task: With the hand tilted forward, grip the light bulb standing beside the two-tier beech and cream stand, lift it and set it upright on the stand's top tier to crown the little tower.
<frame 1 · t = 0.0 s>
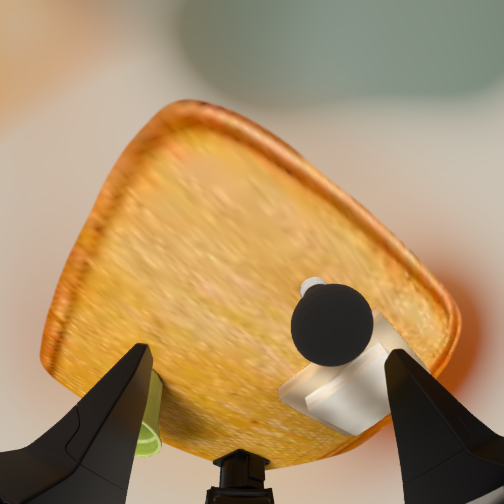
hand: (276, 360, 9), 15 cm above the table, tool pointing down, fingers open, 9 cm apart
light bulb: (311, 284, 25), on the table
plant pot: (139, 378, 29), on the table
stepped stand: (359, 378, 29), on the table
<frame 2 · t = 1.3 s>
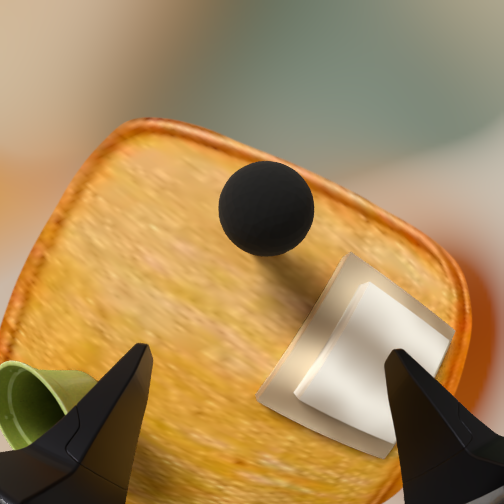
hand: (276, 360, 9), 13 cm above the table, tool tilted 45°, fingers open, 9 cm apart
light bulb: (258, 241, 24), on the table
plant pot: (84, 400, 20), on the table
stepped stand: (364, 364, 22), on the table
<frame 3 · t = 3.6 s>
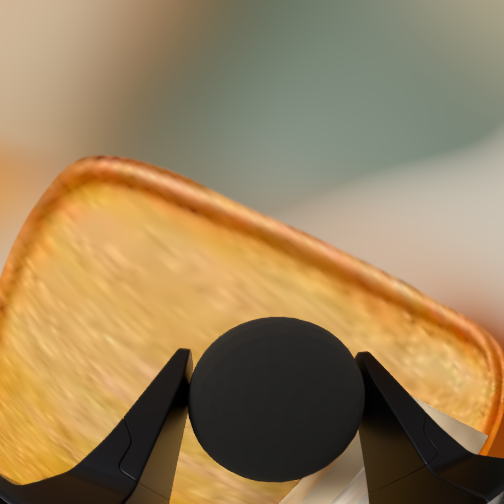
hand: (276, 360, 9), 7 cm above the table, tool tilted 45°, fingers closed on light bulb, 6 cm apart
light bulb: (259, 367, 15), on the table, touching gripper
stepped stand: (383, 486, 13), on the table
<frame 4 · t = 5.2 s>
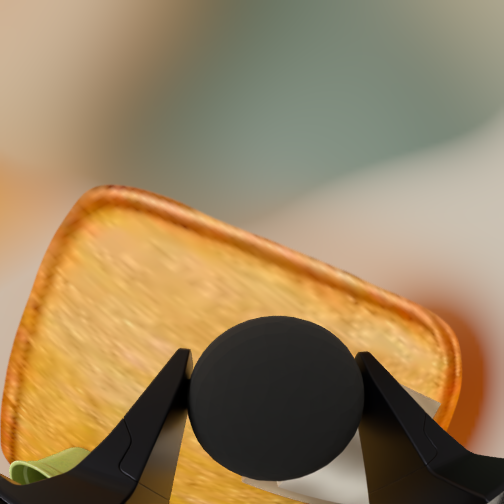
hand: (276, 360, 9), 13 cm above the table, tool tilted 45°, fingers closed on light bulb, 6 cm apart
light bulb: (259, 366, 15), point 6 cm above the table, touching gripper
plant pot: (89, 469, 18), on the table
stepped stand: (346, 441, 20), on the table
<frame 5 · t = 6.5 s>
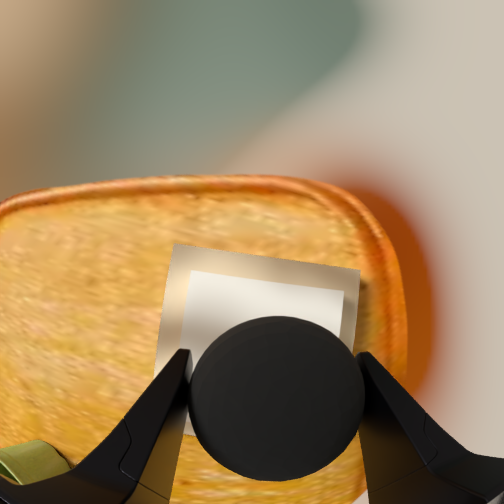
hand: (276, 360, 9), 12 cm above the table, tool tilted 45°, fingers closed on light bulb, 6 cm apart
light bulb: (259, 366, 15), point 5 cm above the table, touching gripper
plant pot: (52, 463, 16), on the table
stepped stand: (255, 352, 20), on the table
when the fingers open (11 cm above the table, at t = 7.0 s): light bulb stays where it is, resting on stepped stand.
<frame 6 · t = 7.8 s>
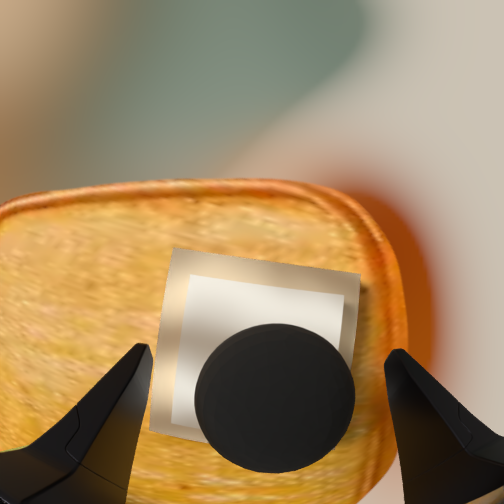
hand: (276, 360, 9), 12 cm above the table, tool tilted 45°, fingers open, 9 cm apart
light bulb: (259, 366, 16), point 4 cm above the table, touching stepped stand
stepped stand: (254, 356, 20), on the table
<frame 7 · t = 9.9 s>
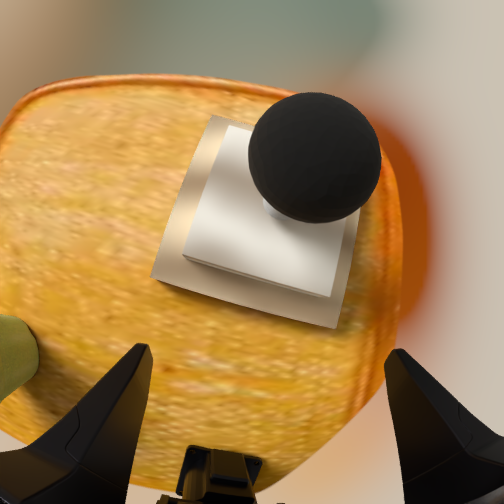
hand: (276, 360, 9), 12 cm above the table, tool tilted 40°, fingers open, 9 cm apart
light bulb: (277, 207, 19), point 4 cm above the table, touching stepped stand
plant pot: (19, 348, 17), on the table
stepped stand: (266, 220, 22), on the table
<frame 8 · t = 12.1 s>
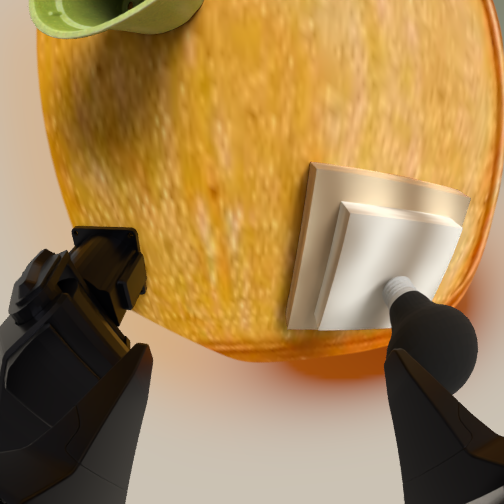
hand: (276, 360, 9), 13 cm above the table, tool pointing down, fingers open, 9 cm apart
light bulb: (391, 280, 19), point 4 cm above the table, touching stepped stand
plant pot: (162, 0, 12), on the table
stepped stand: (375, 253, 22), on the table
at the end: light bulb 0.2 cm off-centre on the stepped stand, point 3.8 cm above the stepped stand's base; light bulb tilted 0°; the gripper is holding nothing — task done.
